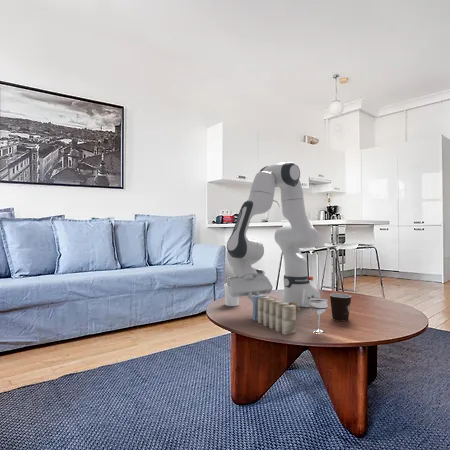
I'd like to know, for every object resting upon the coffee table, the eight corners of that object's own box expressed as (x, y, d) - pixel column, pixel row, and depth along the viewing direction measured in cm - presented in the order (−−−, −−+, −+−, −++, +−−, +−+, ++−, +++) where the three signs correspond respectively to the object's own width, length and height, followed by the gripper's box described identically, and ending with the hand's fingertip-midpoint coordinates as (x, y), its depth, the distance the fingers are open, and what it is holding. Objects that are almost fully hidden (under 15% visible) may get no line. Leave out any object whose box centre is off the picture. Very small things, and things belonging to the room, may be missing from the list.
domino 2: (267, 320, 144) (268, 296, 144) (270, 321, 142) (270, 297, 142) (257, 322, 141) (257, 297, 141) (259, 323, 140) (260, 298, 140)
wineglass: (324, 328, 134) (324, 297, 134) (330, 334, 127) (330, 301, 127) (307, 328, 133) (307, 297, 133) (312, 334, 127) (312, 301, 127)
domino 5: (286, 328, 133) (286, 302, 133) (288, 329, 132) (288, 303, 132) (275, 330, 131) (275, 303, 131) (277, 331, 129) (278, 304, 129)
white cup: (238, 307, 167) (238, 286, 167) (222, 306, 168) (222, 285, 168) (241, 303, 175) (241, 283, 175) (225, 302, 176) (225, 282, 176)
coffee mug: (340, 323, 141) (340, 298, 141) (325, 317, 149) (325, 294, 149) (360, 319, 147) (360, 295, 147) (345, 314, 154) (345, 292, 154)
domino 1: (262, 318, 147) (263, 294, 147) (264, 319, 146) (265, 295, 145) (252, 319, 145) (253, 296, 144) (254, 320, 144) (255, 296, 143)
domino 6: (292, 331, 130) (292, 304, 130) (295, 332, 128) (295, 305, 128) (281, 333, 127) (282, 306, 127) (284, 334, 126) (284, 307, 126)
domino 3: (273, 323, 140) (273, 298, 140) (275, 324, 139) (276, 299, 139) (263, 324, 138) (263, 299, 138) (265, 325, 136) (265, 300, 136)
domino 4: (279, 325, 137) (279, 300, 137) (282, 326, 135) (282, 301, 135) (269, 327, 134) (269, 301, 134) (271, 328, 133) (271, 302, 133)
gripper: (227, 273, 148) (238, 300, 139) (266, 270, 158) (279, 296, 149) (222, 282, 152) (232, 309, 143) (261, 278, 162) (273, 304, 153)
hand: (257, 302), depth 146 cm, fingers closed
